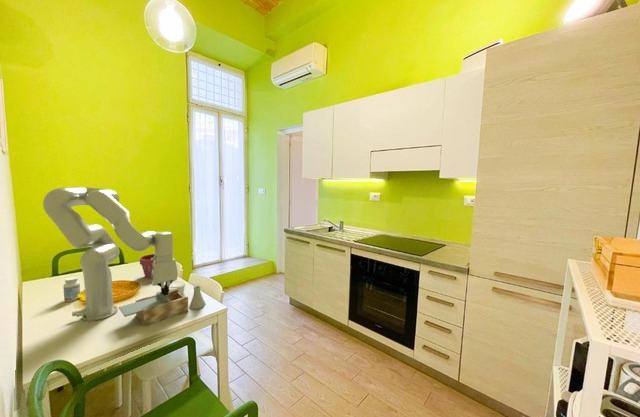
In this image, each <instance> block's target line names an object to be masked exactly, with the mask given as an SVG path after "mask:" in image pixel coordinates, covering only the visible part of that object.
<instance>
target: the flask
mask: <svg viewBox="0 0 640 417" xmlns="http://www.w3.org/2000/svg"><path fill="white" fill-rule="evenodd" d="M201 287H202V286H200V285H195V286H193V295H192V298H191V302H190V303H189V305H188V309H192V310H199V309H201V308H203V307H205V306H206V304H207V303H206V301H205V300H204V298H203V295H202V292H201Z"/></svg>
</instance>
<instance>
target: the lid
mask: <svg viewBox="0 0 640 417" xmlns="http://www.w3.org/2000/svg"><path fill="white" fill-rule="evenodd" d="M155 295H157V296H156V297H153V298H149V299H146V300H142V301H138V302H136V301H135V302H132V303H128V304H124V305H121V306H120V305H119V306H118V309H119V310H120V312H121V313H122V314H123V316H124V318H126V317H129V316H132V315H136V313H139V312H143V309H147V308H150V307H153V306H157V305H160V304H163V303H167V302H170V300H169V299H168V298H167V297H166V296H164V295H163V294H162V293H161V291H158V292H156V294H155Z"/></svg>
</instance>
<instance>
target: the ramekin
mask: <svg viewBox="0 0 640 417" xmlns="http://www.w3.org/2000/svg"><path fill="white" fill-rule="evenodd" d="M185 286H186V284H185V282H184V281H178V280H175V281H173V282H172V283H171V284H170V286H169V291H171V290H175V289H178V292H179V293H181V294H182V295H184V292H185Z"/></svg>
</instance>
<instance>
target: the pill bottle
mask: <svg viewBox="0 0 640 417" xmlns="http://www.w3.org/2000/svg"><path fill="white" fill-rule="evenodd" d="M64 282H65V283H64V284H63V287H62V288H63V296H64V298H63V300H64V302H68V303H70V302H75V301H78V300H77V295H78V294H81V284H80V282H79V281H78V277H77V276H72V277H67V278H65V279H64Z"/></svg>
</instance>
